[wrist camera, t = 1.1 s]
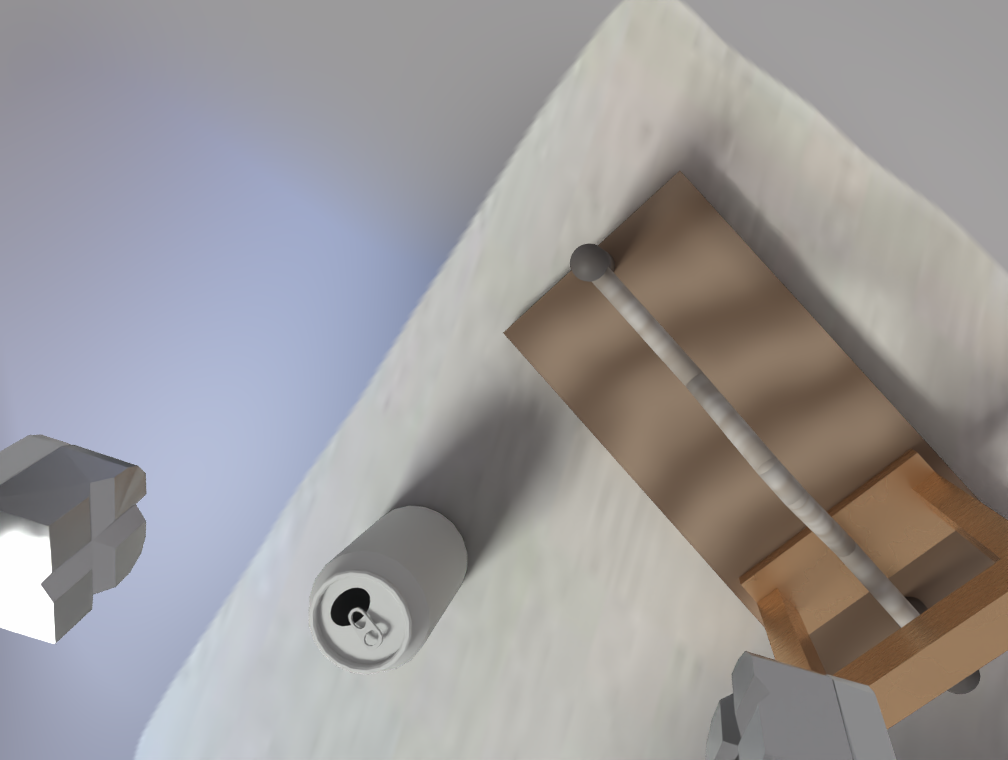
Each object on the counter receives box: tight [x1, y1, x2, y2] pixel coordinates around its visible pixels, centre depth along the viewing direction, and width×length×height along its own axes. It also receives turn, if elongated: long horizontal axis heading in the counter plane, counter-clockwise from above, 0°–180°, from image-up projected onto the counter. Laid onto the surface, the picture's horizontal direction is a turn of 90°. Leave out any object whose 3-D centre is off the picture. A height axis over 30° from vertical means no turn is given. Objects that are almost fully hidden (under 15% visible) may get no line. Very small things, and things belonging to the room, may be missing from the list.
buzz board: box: [503, 171, 995, 694], centre depth 43 cm, size 31×15×13 cm, turn 42°
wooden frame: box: [739, 449, 1008, 729], centre depth 40 cm, size 5×13×16 cm, turn 132°
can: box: [309, 506, 467, 675], centre depth 49 cm, size 8×8×12 cm
